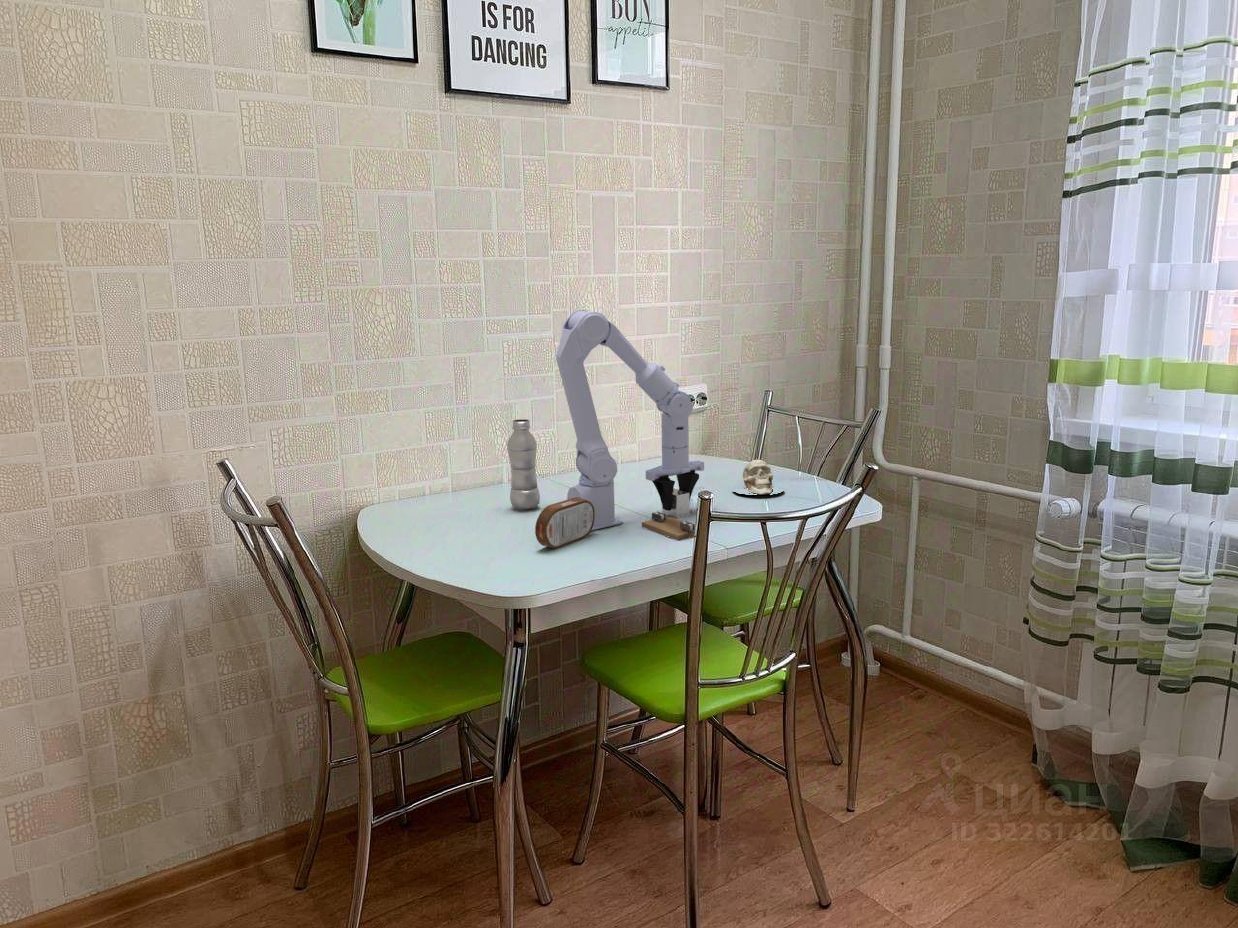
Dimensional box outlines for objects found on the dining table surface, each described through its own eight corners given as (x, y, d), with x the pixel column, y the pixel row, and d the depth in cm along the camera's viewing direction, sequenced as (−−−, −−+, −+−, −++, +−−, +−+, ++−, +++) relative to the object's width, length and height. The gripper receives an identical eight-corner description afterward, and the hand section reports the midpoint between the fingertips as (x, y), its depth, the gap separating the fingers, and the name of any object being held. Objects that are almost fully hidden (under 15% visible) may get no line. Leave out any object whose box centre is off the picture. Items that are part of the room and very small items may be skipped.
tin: (586, 532, 187) (585, 492, 185) (598, 534, 185) (597, 494, 184) (534, 551, 176) (532, 508, 174) (546, 554, 174) (544, 511, 172)
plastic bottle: (535, 513, 202) (531, 423, 197) (506, 512, 203) (501, 423, 199) (543, 505, 208) (540, 418, 204) (515, 504, 209) (510, 417, 205)
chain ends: (689, 532, 181) (689, 525, 181) (652, 519, 191) (651, 512, 191) (694, 531, 182) (694, 524, 182) (657, 518, 192) (657, 511, 192)
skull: (781, 500, 208) (781, 467, 206) (728, 498, 211) (728, 465, 209) (786, 488, 219) (787, 456, 217) (736, 485, 222) (736, 454, 220)
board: (678, 540, 180) (678, 535, 180) (641, 526, 190) (641, 522, 190) (705, 533, 184) (705, 528, 184) (668, 520, 194) (668, 516, 193)
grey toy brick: (676, 518, 196) (676, 493, 194) (662, 513, 200) (661, 488, 198) (689, 515, 198) (689, 490, 196) (674, 510, 202) (674, 486, 200)
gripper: (659, 453, 188) (660, 517, 191) (713, 444, 196) (713, 505, 199) (639, 448, 194) (640, 510, 197) (692, 439, 202) (692, 499, 205)
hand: (675, 507), depth 198 cm, fingers open, 4 cm apart
